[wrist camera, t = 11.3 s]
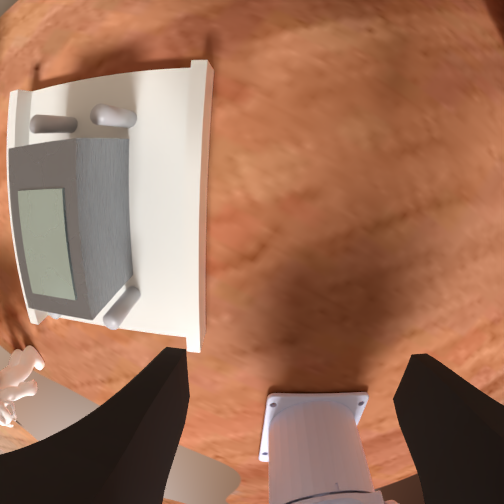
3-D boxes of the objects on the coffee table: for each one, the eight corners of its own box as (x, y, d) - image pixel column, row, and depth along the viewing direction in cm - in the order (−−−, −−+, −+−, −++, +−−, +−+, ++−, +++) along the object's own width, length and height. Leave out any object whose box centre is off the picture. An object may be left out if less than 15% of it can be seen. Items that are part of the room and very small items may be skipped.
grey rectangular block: (133, 274, 18) (91, 321, 13) (77, 269, 18) (27, 308, 13) (129, 138, 15) (75, 138, 10) (69, 143, 15) (7, 148, 10)
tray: (205, 332, 20) (194, 374, 16) (46, 308, 20) (16, 336, 16) (214, 70, 15) (200, 47, 11) (31, 94, 15) (-11, 90, 11)
